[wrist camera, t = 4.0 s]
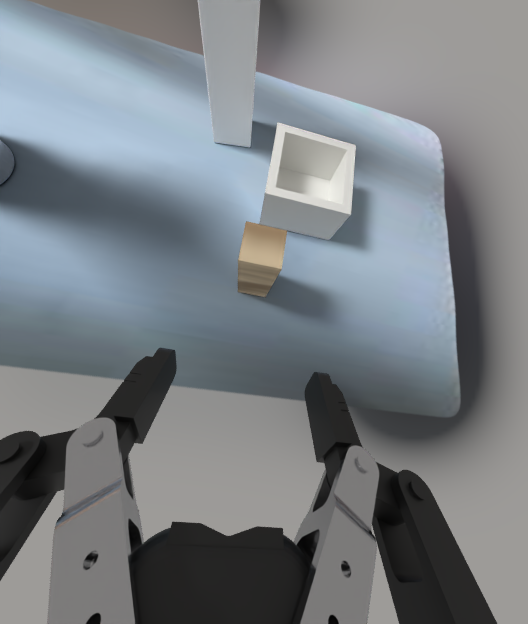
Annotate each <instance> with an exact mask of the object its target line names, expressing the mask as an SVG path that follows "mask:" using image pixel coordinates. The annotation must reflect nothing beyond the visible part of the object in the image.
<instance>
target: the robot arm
mask: <svg viewBox="0 0 528 624" xmlns="http://www.w3.org/2000/svg"><path fill="white" fill-rule="evenodd" d="M13 168H14V156H13V154H12V152H11V150H10V149H9V148H8V146H7V145H6V144H4V143H3V142H2V141H1V140H0V185H1V184H2V183H3V182H4V181H6V180H7V178H8V177H9V176H10V175H11V173H12V171H13ZM175 374H176V354H175V350H172V349H166V348H159V349H158V350H157V351H156V353H155V354H154V356H153V357H149V356H146V357H145V358H143V359H142V360H140V361H139V362H138V363H136V365H135V366H134V368H133V369H132V370H131V372H130V374H128V376H127V377H126V378H125V380H124V382H122V384H121V385H120V387H119V388H118V389H117V391H116V392H115V394H114V395H113V396H112V397H111V399H110V400H109V402H108V403H107V404H106V406H105V407H104V409H103V410H102V411H101V412H100V414H99V415H98V416H97V417H96V418H94V419H93V420H91V421H89V422H87V423H85V424H83V425H82V426H81V427H79V428H78V429H75V430H72V431H68V432H63V433H58V434H53V435H48V436H43V437H40V436H39V435H38V434H37V433H35V432H33V431H23V432H18V433H15V434H12V435H9V436H7V437H5V438H3V439H2V440H0V580H1V579H2V577H3V576H4V574H5V573H6V571H7V569H8V568H9V566H10V565H11V563H12V562H13V560H14V559H15V557H16V555H17V554H18V552H19V551H20V549H21V547H22V546H23V544H24V543H25V541H26V540H27V538H28V536H29V535H30V533H31V532H32V530H33V529H34V527H35V525H36V524H37V522H38V521H39V519H40V517H41V516H42V514H43V513H44V511H45V510H46V508H47V507H48V505H49V503H50V502H51V500H52V499H53V497H54V495H55V494H56V492H57V491H60V490H64V508H63V513H62V515H61V517H60V518H59V519H58V520H57V523H56V526H55V530H54V536H53V549H52V563H51V577H50V592H49V607H48V621H47V624H367V620H368V613H369V604H370V597H371V590H372V582H373V574H374V567H375V559H376V550H377V548H376V547H377V546H376V541H377V544H378V548H379V552H380V555H381V558H382V562H383V566H384V570H385V573H386V577H387V581H388V584H389V588H390V591H391V595H392V599H393V603H394V606H395V609H396V613H397V617H398V621H399V624H497V622H496V620H495V618H494V616H493V614H492V612H491V610H490V608H489V606H488V604H487V602H486V600H485V598H484V596H483V594H482V592H481V590H480V588H479V586H478V585H477V582H476V580H475V578H474V576H473V574H472V572H471V570H470V568H469V566H468V564H467V563H466V560H465V558H464V556H463V554H462V553H461V551H460V548H459V546H458V545H457V543H456V540H455V538H454V537H453V534H452V532H451V531H450V528H449V526H448V524H447V522H446V520H445V518H444V516H443V514H442V512H441V511H440V509H439V507H438V505H437V502H436V500H435V498H434V496H433V495H432V493H431V491H430V489H429V488H428V486H427V485H426V483H425V482H424V481H423V480H422V479H421V478H420V477H419V476H418V475H416V474H415V473H413V472H411V471H409V470H402V471H401V472H399V473H397V472H394V471H393V470H390V469H389V468H386V467H385V466H383V465H381V464H379V463H377V462H375V460H374V458H373V457H372V456H371V454H370V453H369V452H367V451H366V450H365V449H364V448H363V447H362V445H361V443H360V440H359V438H358V435H357V432H356V430H355V427H354V424H353V421H352V418H351V416H350V413H349V412H348V411H349V410H348V407H347V405H346V402H345V399H344V397H343V394H342V392H341V391H340V389H339V388H338V387H337V385H335V384H332V382H331V379H330V376H329V375H328V374H326V373H319V372H314V373H313V375H312V377H311V379H310V380H309V382H308V384H307V386H306V388H305V400H306V406H307V411H308V417H309V422H310V428H311V433H312V438H313V444H314V449H315V455H316V460H317V462H322V463H325V468H326V470H325V471H324V473H323V476H322V478H321V481H320V484H319V486H318V489H317V492H316V494H315V497H314V499H313V502H312V504H311V507H310V510H309V512H308V514H307V515H306V517H305V518H304V520H303V522H302V523H301V525H300V528H299V530H298V532H297V535H296V537H295V540H294V542H292V540H290V539H289V538H287V537H286V536H284V535H283V529H282V528H272V527H254V528H252V529H249V530H246V531H243V532H240V533H237V534H234V535H232V536H226V535H224V534H221V533H219V532H217V531H215V530H213V529H211V528H209V527H207V526H205V525H203V524H201V523H186V522H172V525H171V528H168V529H165V530H163V531H161V532H159V533H157V534H156V535H154V536H152V537H151V538H149V539H148V540H147V541H146V542H144V539H143V533H142V526H141V520H140V515H139V510H138V507H137V504H136V498H135V492H134V485H133V479H132V472H131V465H130V459H129V453H130V451H131V448H132V447H133V445H134V443H140V444H142V443H143V441H144V439H145V437H146V435H147V433H148V431H149V429H150V427H151V424H152V422H153V421H154V419H155V417H156V414H157V412H158V410H159V408H160V406H161V404H162V402H163V400H164V398H165V396H166V394H167V392H168V390H169V388H170V385H171V383H172V381H173V379H174V377H175ZM371 524H372V526H373V530H374V534H375V537H376V539H375V537H374V535H373V534H372V532H371Z"/></svg>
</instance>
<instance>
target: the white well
mask: <svg viewBox="0 0 528 624" xmlns="http://www.w3.org/2000/svg"><path fill="white" fill-rule="evenodd" d="M355 150H356V145H353V144H350V143H346V142H343V141H339V140H336V139H333V138H329V137H326V136H322V135H319V134H316V133H312V132H309V131H305V130H302V129H299V128H295V127H292V126H288V125H285V124H281V123H278V124H277V130H276V135H275V141H274V146H273V152H272V157H271V163H270V168H269V174H268V179H267V185H266V190H265V196H264V201H263V207H262V212H261V218H260V223H259V224H261V225H265V226H270V227H274V228H278V229H283V230H287V231H291V232H295V233H300V234H304V235H308V236H313V237H317V238H321V239H326V240H330V238H331V237H332V236H333V235H334V234H335V233H336V231H337V230H338V229H339V228H340V227H341V226H342V224H343V223H344V222H345V221H346V220H347V219H348V217H349V216H350V215H351V207H352V193H353V178H354V164H355Z"/></svg>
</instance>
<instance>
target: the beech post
mask: <svg viewBox="0 0 528 624" xmlns="http://www.w3.org/2000/svg"><path fill="white" fill-rule="evenodd" d="M286 235H287V231H286V230H281V229H277V228H273V227H268V226H264V225H260V224H256V223H251V222H247V221H246V224H245V229H244V234H243V239H242V244H241V249H240V254H239V259H238V292H241V293H246V294H251V295H256V296H262V297H266V295H267V294H268V292H269V290H270V288H271V287H272V285H273V283H274V281H275V280H276V278H277V276H278V274H279V273H280V271H281V269H282V262H283V255H284V249H285V242H286Z"/></svg>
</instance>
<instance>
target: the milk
mask: <svg viewBox="0 0 528 624" xmlns="http://www.w3.org/2000/svg"><path fill="white" fill-rule="evenodd" d="M198 6H199V14H200V23H201V31H202V41H203V50H204V59H205V68H206V76H207V85H208V94H209V103H210V111H211V120H212V129H213V138H214V142H215V143H222V144H229V145H236V146H243V147H250V146H251V132H252V117H253V102H254V86H255V71H256V56H257V40H258V25H259V9H260V0H198Z"/></svg>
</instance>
